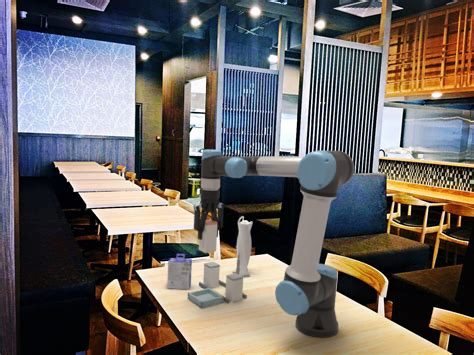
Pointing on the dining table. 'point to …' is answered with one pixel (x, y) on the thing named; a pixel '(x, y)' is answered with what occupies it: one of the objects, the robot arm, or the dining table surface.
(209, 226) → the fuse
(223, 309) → the dining table surface
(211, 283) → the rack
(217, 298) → the tray
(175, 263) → the ink cartridge box
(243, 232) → the skyscraper
